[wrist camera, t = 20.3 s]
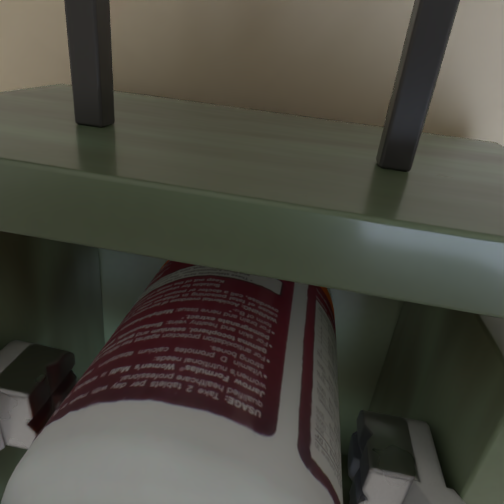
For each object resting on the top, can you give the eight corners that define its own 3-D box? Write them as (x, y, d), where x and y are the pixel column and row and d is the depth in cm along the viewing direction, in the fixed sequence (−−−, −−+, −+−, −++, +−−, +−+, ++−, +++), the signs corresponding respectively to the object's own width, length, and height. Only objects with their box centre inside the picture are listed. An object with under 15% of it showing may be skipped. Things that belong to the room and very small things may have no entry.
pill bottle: (127, 296, 15) (-269, 791, 5) (241, 183, 12) (-107, 739, 2) (248, 397, 16) (124, 956, 6) (374, 313, 14) (506, 1032, 4)
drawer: (37, -157, 11) (-516, -547, 4) (594, -114, 9) (1384, -585, 2) (91, 392, 19) (-40, 585, 12) (381, 453, 18) (416, 705, 11)
